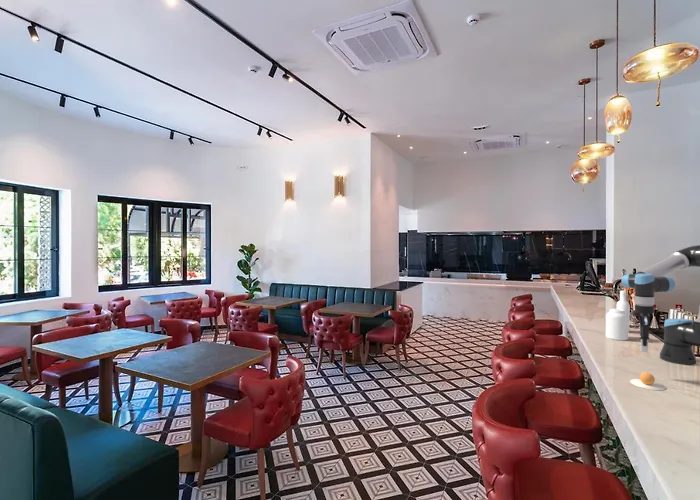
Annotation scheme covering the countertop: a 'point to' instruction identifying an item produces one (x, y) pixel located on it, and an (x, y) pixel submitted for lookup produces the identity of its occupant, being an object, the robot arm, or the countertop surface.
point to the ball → (647, 378)
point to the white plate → (651, 387)
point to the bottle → (624, 305)
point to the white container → (617, 324)
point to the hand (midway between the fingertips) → (644, 351)
